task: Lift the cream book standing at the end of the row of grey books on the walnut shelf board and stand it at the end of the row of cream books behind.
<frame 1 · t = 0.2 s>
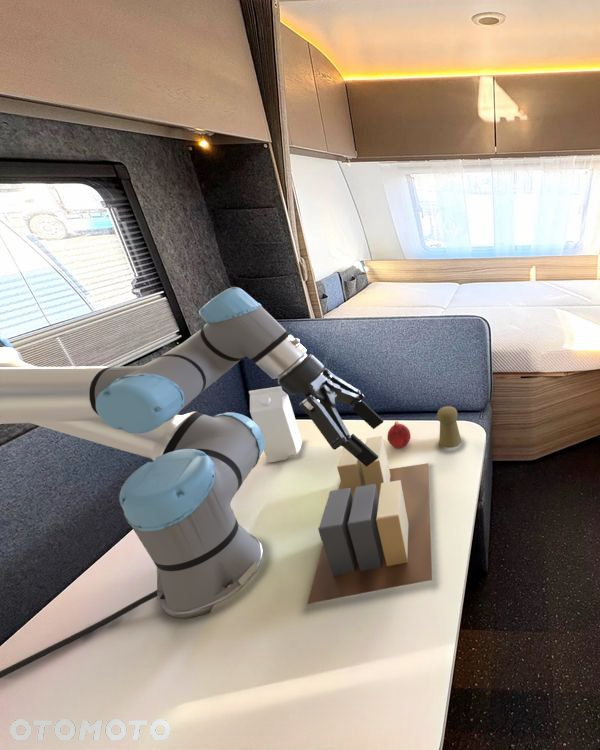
hand: (375, 441, 78), 15 cm above the table, tool tilted 35°, fingers open, 13 cm apart
milk carton: (286, 453, 102), on the table
grey book 2: (373, 547, 71), point 1 cm above the table, touching shelf board
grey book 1: (348, 552, 71), point 1 cm above the table, touching shelf board
cork: (450, 445, 102), on the table
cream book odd: (398, 543, 72), point 1 cm above the table, touching shelf board
cream book 1: (360, 492, 85), point 1 cm above the table, touching shelf board
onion: (401, 448, 102), on the table
cream book 2: (381, 489, 86), point 1 cm above the table, touching shelf board
shelf board: (380, 523, 78), on the table
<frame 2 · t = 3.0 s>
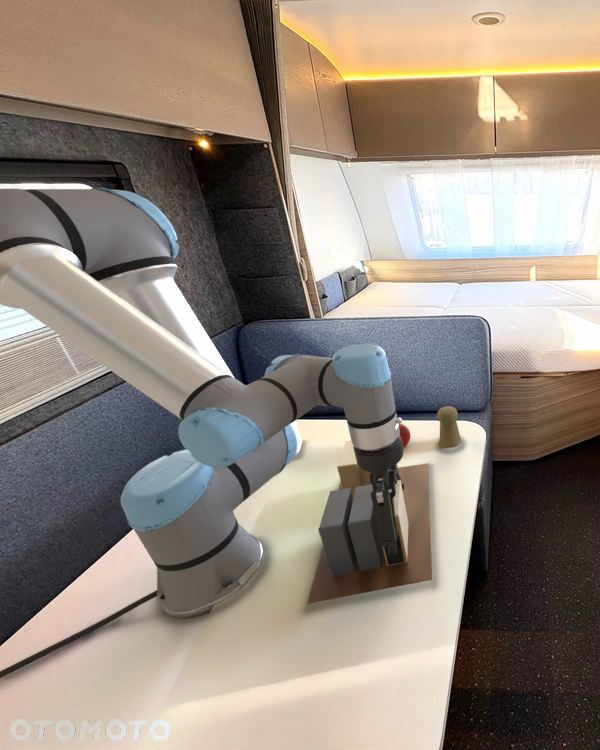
hand: (397, 539, 72), 2 cm above the table, tool pointing down, fingers closed on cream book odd, 9 cm apart
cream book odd: (398, 543, 72), point 1 cm above the table, touching gripper, shelf board
everything else where it was.
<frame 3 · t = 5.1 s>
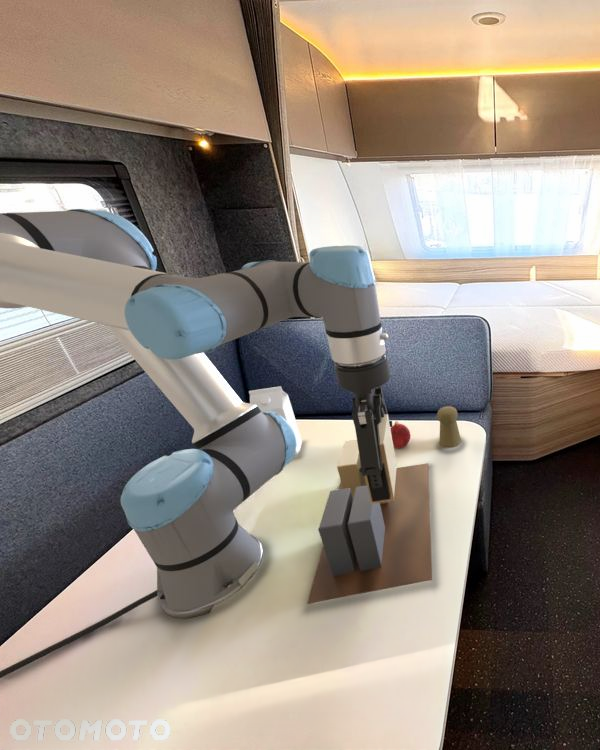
hand: (384, 478, 66), 16 cm above the table, tool pointing down, fingers closed on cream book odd, 9 cm apart
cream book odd: (385, 483, 66), point 15 cm above the table, touching gripper
everything else where it was.
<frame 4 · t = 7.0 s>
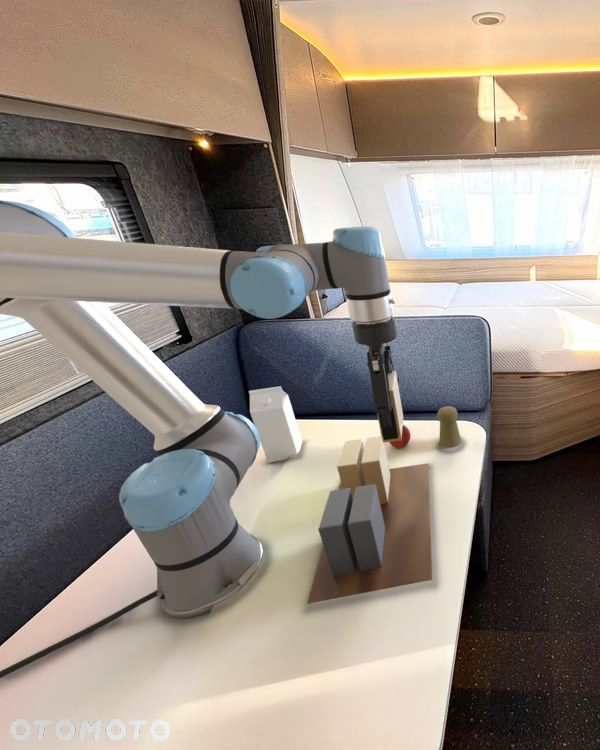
hand: (392, 424, 79), 18 cm above the table, tool pointing down, fingers closed on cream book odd, 9 cm apart
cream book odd: (393, 428, 79), point 17 cm above the table, touching gripper
everything else where it was.
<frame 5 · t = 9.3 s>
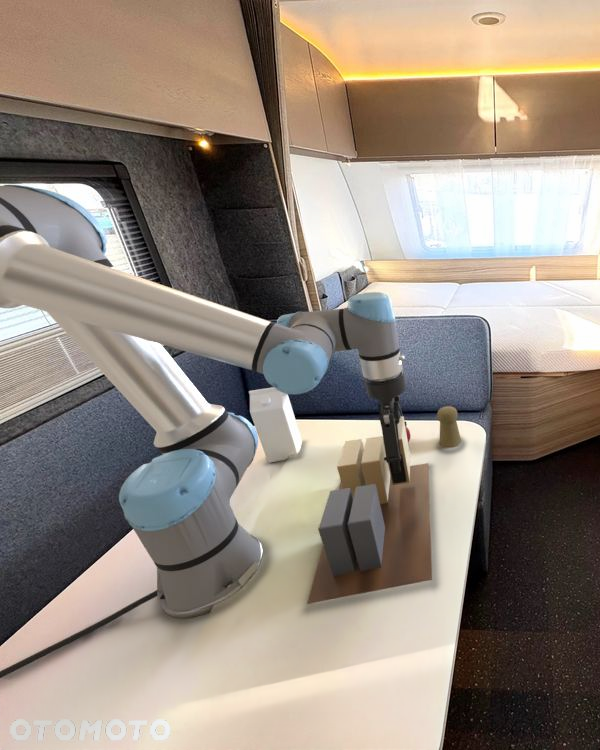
hand: (401, 466, 84), 7 cm above the table, tool pointing down, fingers closed on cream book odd, 9 cm apart
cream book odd: (401, 470, 85), point 6 cm above the table, touching gripper
everything else where it was.
when the fingers open (2 cm above the table, at t = 10.9 s): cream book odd stays where it is, resting on shelf board.
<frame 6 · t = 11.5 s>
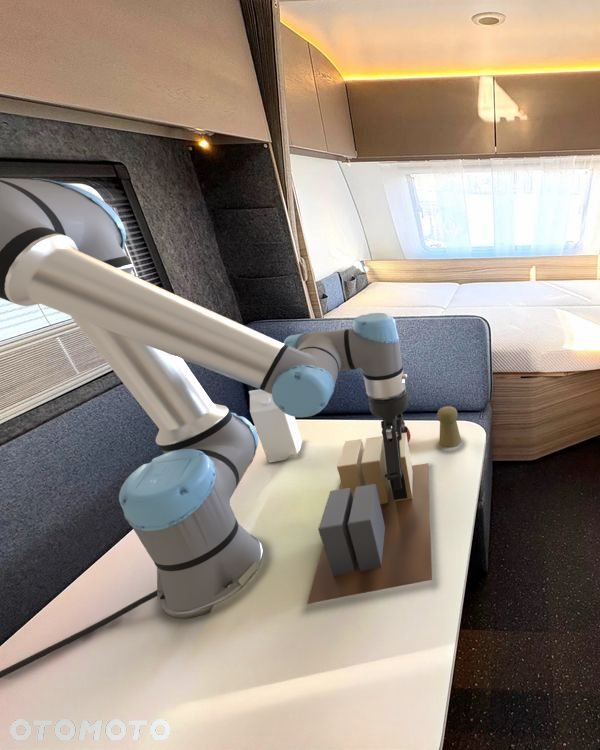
hand: (402, 476, 85), 4 cm above the table, tool pointing down, fingers open, 13 cm apart
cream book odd: (404, 485, 87), point 1 cm above the table, touching shelf board
everything else where it was.
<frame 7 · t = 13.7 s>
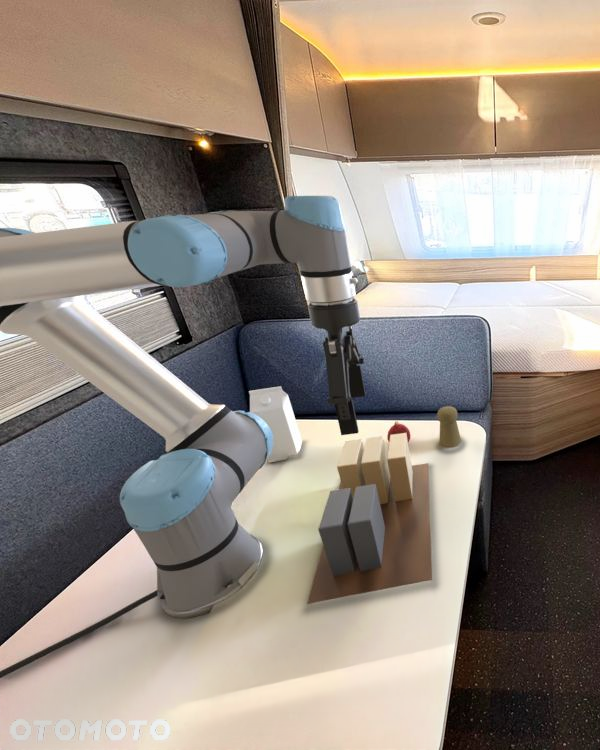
hand: (354, 413, 71), 24 cm above the table, tool pointing down, fingers open, 13 cm apart
nothing on the table moved.
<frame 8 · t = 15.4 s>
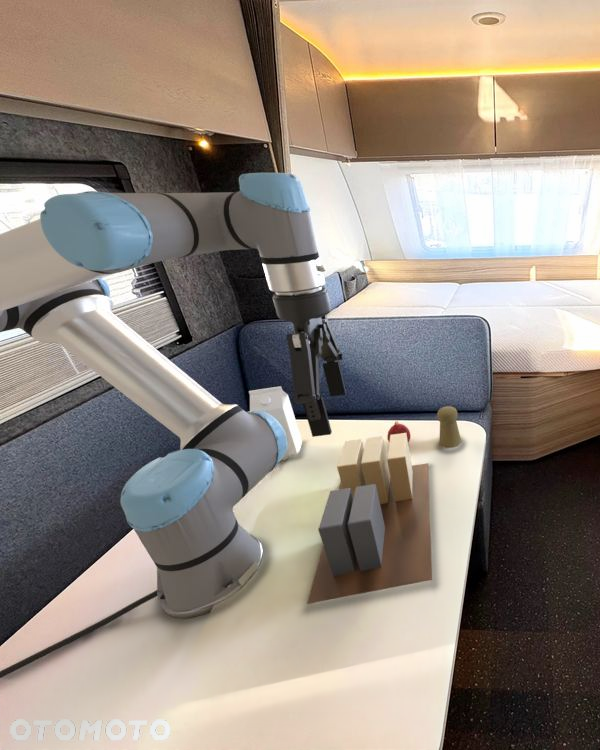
hand: (331, 413, 66), 27 cm above the table, tool pointing down, fingers open, 13 cm apart
nothing on the table moved.
at the end: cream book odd 0.2 cm from the target spot, point 1.2 cm above the table; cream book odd tilted 0°; grey book 2 moved 0.0 cm from its start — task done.
